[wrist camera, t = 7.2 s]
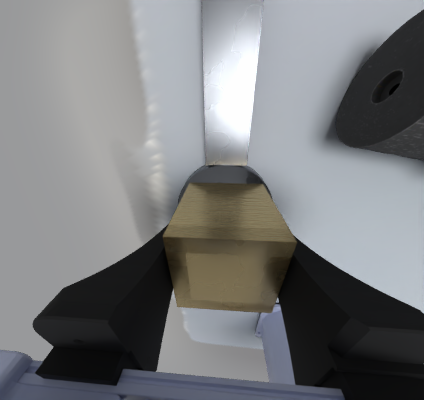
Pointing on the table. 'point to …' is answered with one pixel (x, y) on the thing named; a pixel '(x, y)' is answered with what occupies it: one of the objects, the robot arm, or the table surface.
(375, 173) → the table surface
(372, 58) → the laser sight
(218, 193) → the wood grain cube
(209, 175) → the ratchet
